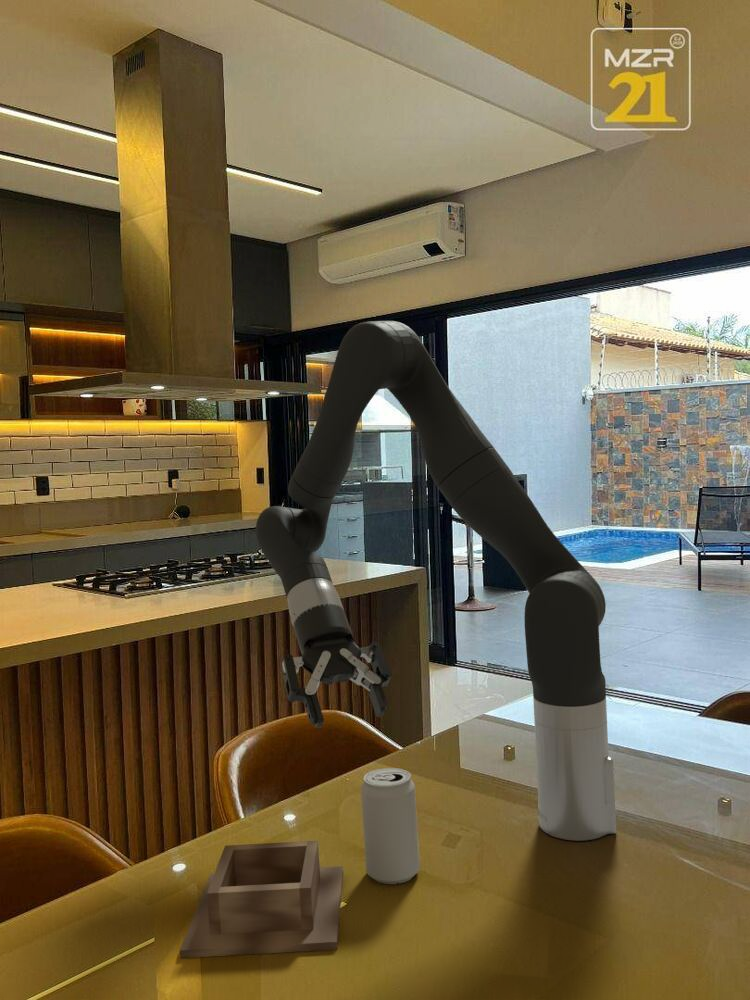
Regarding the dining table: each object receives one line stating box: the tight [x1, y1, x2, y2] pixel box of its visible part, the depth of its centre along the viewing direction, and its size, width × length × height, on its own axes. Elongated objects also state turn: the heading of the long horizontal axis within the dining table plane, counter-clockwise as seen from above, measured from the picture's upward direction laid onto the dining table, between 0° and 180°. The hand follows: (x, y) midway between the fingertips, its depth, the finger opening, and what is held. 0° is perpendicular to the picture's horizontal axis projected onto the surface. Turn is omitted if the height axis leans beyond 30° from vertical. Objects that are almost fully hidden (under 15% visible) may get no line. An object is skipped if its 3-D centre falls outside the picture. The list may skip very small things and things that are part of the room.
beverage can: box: [360, 767, 421, 885], centre depth 103 cm, size 6×6×12 cm
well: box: [179, 840, 344, 959], centre depth 96 cm, size 16×16×5 cm
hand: (351, 719), depth 113 cm, fingers open, 8 cm apart
